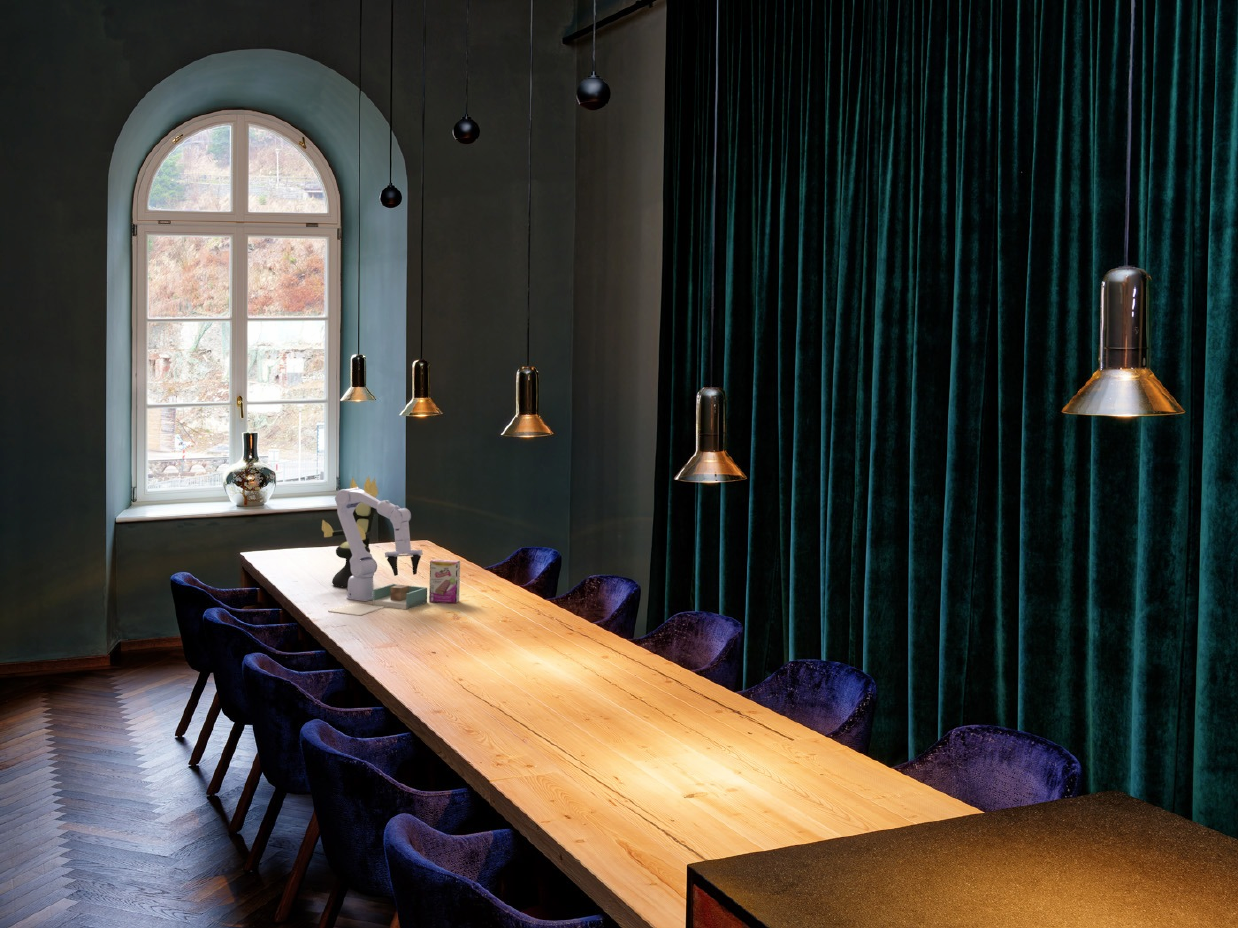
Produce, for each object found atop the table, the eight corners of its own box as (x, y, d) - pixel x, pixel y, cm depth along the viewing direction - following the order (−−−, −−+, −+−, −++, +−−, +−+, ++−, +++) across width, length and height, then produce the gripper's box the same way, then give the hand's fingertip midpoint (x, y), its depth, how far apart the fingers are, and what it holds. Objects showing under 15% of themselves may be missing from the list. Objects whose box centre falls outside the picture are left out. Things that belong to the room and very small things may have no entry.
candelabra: (319, 586, 491) (320, 477, 487) (351, 577, 512) (352, 473, 508) (358, 591, 484) (359, 480, 480) (388, 582, 505) (389, 476, 500)
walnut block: (390, 599, 459) (390, 587, 459) (399, 597, 465) (399, 584, 464) (400, 601, 457) (400, 588, 457) (408, 598, 463) (409, 585, 463)
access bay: (373, 605, 458) (373, 589, 458) (392, 598, 471) (393, 583, 470) (408, 609, 452) (408, 593, 452) (427, 602, 465) (427, 587, 465)
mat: (328, 611, 444) (328, 610, 444) (353, 603, 459) (353, 602, 459) (359, 615, 439) (359, 614, 439) (384, 607, 454) (384, 606, 454)
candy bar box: (428, 602, 466) (429, 560, 465) (432, 599, 471) (432, 558, 470) (456, 603, 465) (457, 562, 464) (459, 601, 470) (460, 560, 469)
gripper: (380, 542, 456) (383, 577, 457) (416, 539, 454) (419, 575, 454) (387, 540, 463) (390, 574, 464) (423, 537, 461) (426, 572, 461)
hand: (405, 574), depth 459 cm, fingers open, 7 cm apart
